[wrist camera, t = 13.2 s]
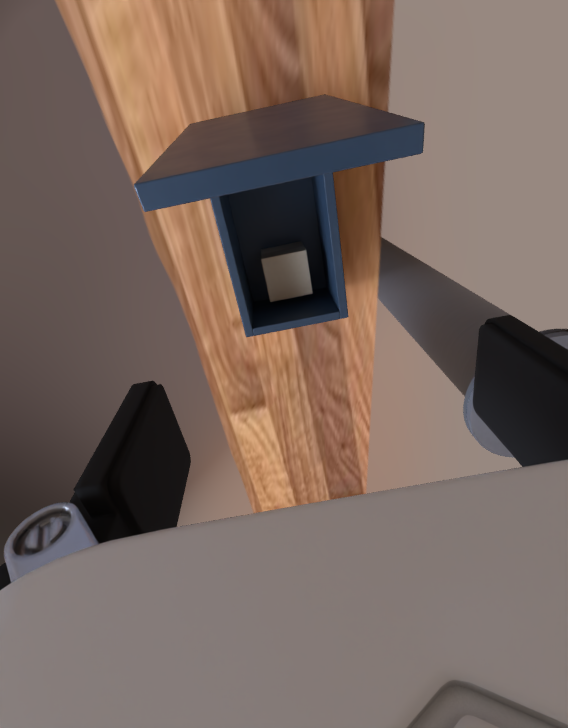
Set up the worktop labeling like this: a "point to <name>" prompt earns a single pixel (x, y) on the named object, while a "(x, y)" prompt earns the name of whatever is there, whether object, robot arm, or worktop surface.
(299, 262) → the block
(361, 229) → the worktop surface
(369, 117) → the lid
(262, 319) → the chest
